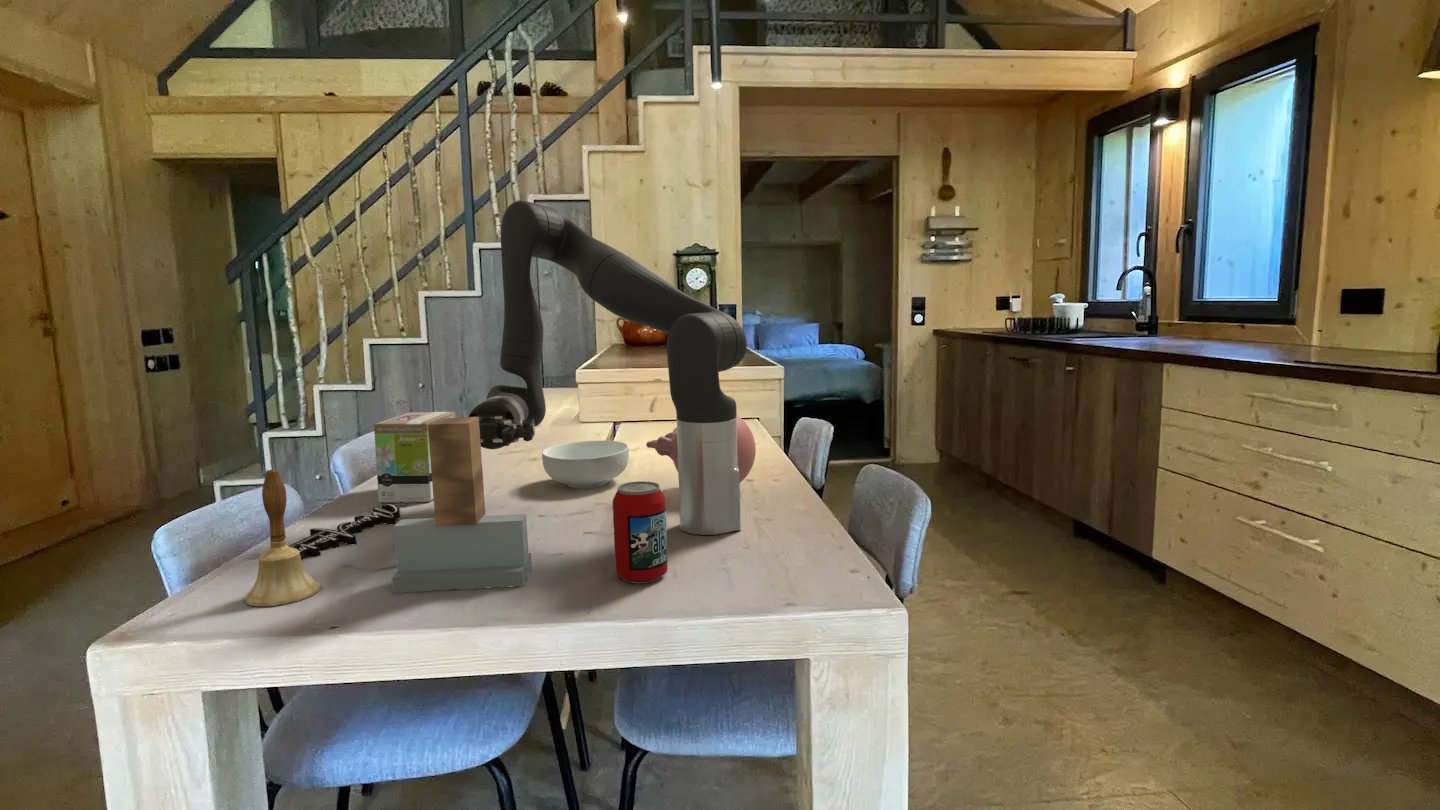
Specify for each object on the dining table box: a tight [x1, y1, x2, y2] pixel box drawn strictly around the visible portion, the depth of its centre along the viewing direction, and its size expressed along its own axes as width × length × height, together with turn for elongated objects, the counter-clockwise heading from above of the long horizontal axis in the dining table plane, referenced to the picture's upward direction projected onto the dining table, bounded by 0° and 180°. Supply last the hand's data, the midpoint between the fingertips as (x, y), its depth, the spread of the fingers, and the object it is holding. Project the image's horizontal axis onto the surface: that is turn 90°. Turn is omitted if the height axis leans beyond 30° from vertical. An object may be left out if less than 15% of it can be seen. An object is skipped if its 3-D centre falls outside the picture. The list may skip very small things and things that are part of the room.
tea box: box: [373, 411, 457, 504], centre depth 146 cm, size 15×10×15 cm
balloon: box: [645, 415, 757, 483], centre depth 141 cm, size 15×20×15 cm
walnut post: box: [428, 416, 486, 527], centre depth 99 cm, size 5×5×13 cm
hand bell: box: [244, 468, 321, 607], centre depth 96 cm, size 8×8×16 cm
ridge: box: [391, 513, 533, 594], centre depth 100 cm, size 16×7×8 cm, turn 94°
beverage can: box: [612, 480, 668, 584], centre depth 100 cm, size 7×7×12 cm
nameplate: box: [288, 503, 401, 561], centre depth 122 cm, size 27×2×10 cm
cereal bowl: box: [541, 439, 630, 489], centre depth 150 cm, size 17×17×7 cm
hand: (473, 440), depth 107 cm, fingers open, 8 cm apart
